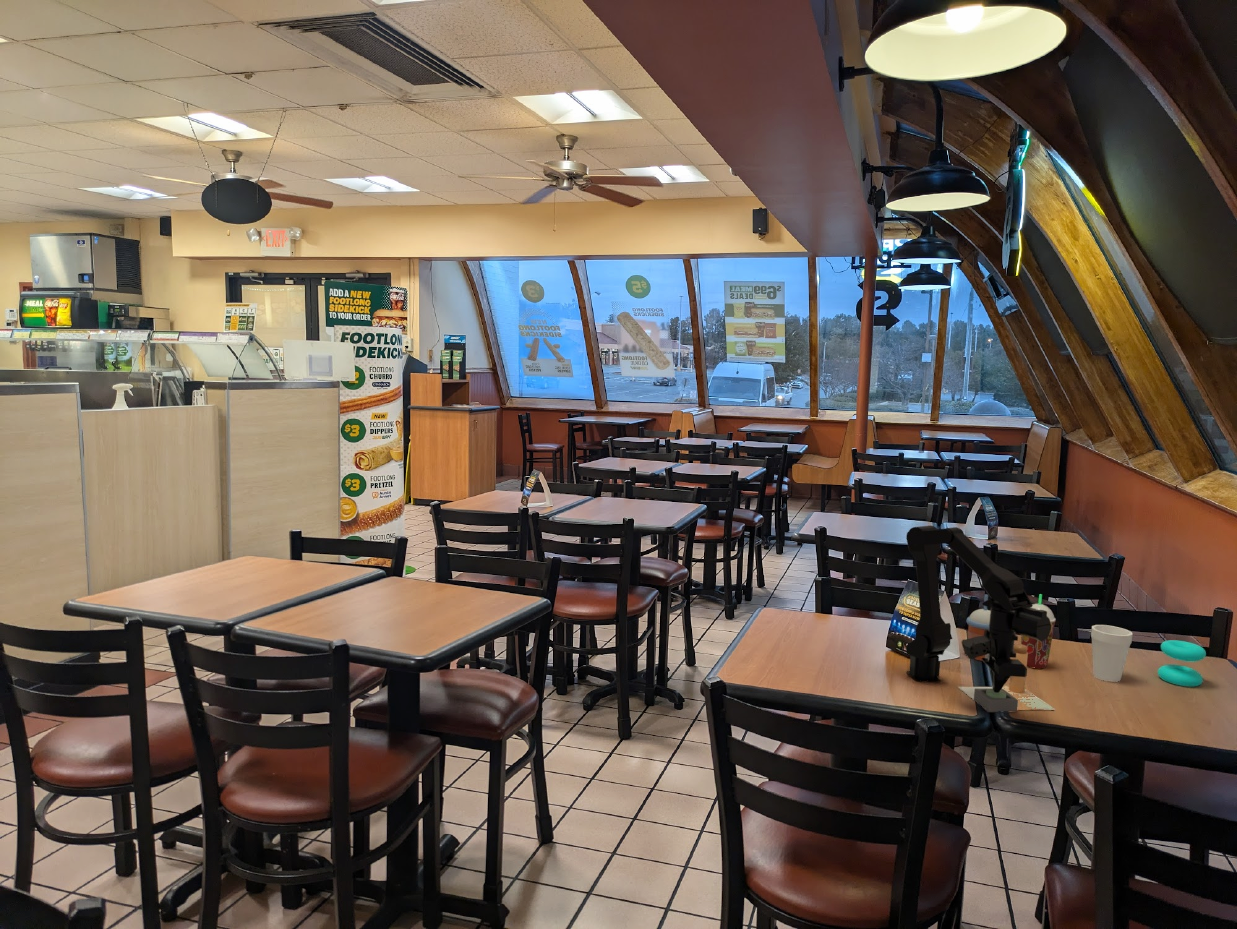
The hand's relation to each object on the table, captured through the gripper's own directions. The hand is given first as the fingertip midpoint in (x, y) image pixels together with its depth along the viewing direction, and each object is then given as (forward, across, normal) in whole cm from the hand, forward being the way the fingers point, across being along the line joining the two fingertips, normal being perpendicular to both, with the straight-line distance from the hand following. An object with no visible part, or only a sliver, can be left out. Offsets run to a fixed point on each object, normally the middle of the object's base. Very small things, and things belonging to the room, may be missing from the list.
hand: (996, 691), depth 204 cm
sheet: (+4, -5, +4) cm, 8 cm away
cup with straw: (+4, -36, +8) cm, 38 cm away
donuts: (+4, -28, +57) cm, 63 cm away
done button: (+3, 0, 0) cm, 3 cm away
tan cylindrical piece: (+3, -11, +9) cm, 14 cm away
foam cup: (+4, -26, +38) cm, 46 cm away
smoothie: (+4, -33, +21) cm, 39 cm away
